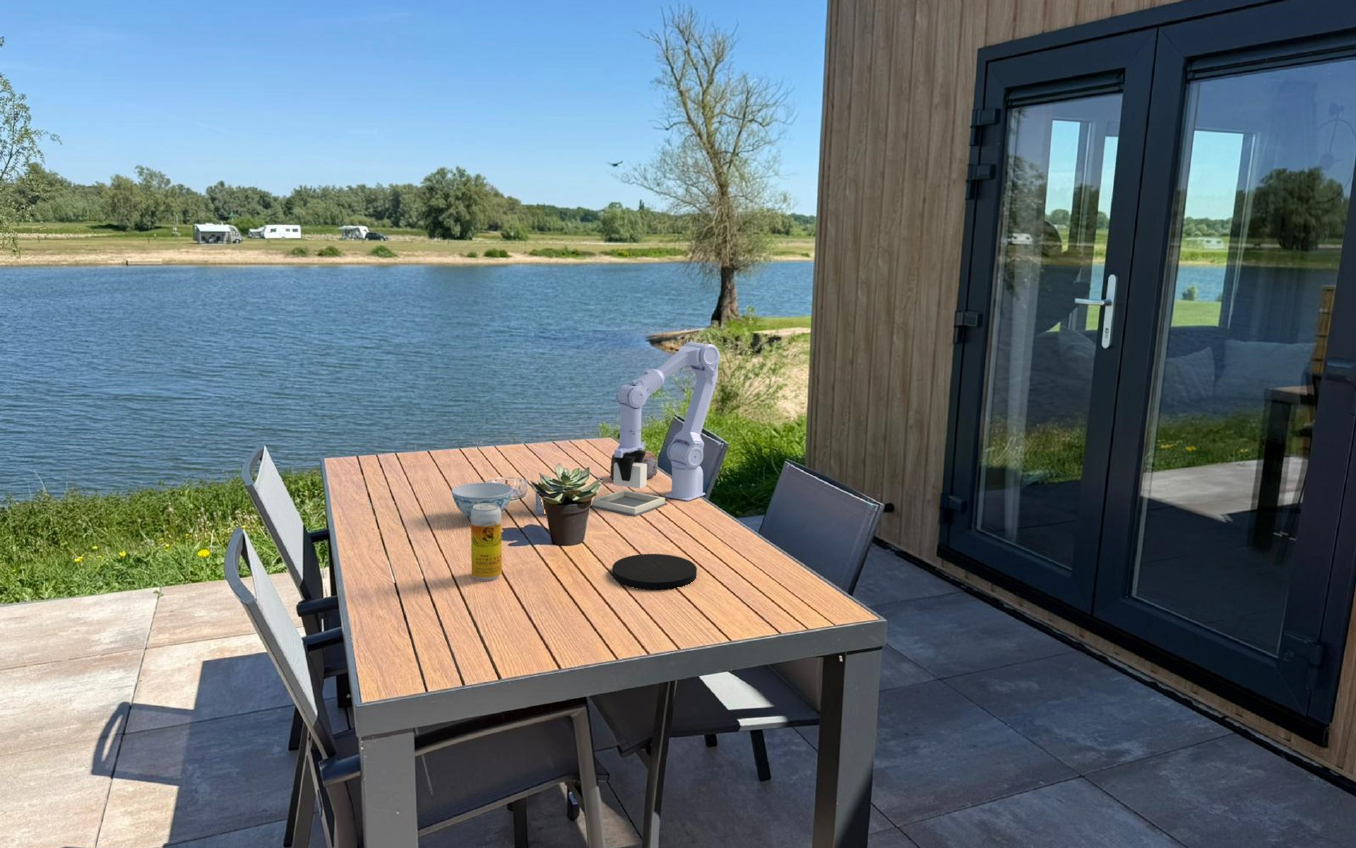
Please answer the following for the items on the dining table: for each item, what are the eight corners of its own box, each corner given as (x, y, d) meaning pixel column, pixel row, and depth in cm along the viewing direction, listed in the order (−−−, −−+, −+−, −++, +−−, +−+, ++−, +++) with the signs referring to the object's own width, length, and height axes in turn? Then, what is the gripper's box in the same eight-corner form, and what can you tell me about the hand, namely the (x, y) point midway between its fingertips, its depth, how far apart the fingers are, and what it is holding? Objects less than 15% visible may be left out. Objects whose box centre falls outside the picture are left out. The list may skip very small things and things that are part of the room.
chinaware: (439, 522, 214) (439, 492, 213) (475, 508, 228) (475, 480, 227) (490, 530, 209) (490, 500, 208) (524, 515, 223) (523, 486, 221)
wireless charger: (679, 597, 170) (679, 587, 170) (598, 583, 177) (598, 574, 176) (707, 569, 187) (707, 560, 187) (632, 558, 193) (632, 549, 193)
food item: (645, 474, 272) (646, 443, 270) (659, 479, 266) (660, 448, 264) (607, 479, 264) (608, 447, 263) (621, 484, 258) (621, 452, 256)
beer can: (476, 583, 174) (475, 511, 171) (468, 573, 179) (467, 504, 177) (505, 579, 177) (504, 508, 174) (497, 570, 182) (496, 501, 179)
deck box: (620, 481, 237) (620, 460, 236) (646, 485, 234) (646, 463, 233) (613, 485, 233) (613, 463, 232) (640, 488, 230) (640, 466, 229)
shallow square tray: (623, 495, 245) (623, 489, 245) (667, 504, 237) (667, 497, 237) (590, 506, 233) (590, 500, 232) (635, 516, 224) (635, 509, 224)
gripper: (631, 435, 223) (630, 486, 225) (655, 427, 236) (654, 475, 238) (607, 432, 226) (607, 483, 228) (632, 424, 239) (631, 472, 241)
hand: (629, 478), depth 233 cm, fingers closed on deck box, 4 cm apart
